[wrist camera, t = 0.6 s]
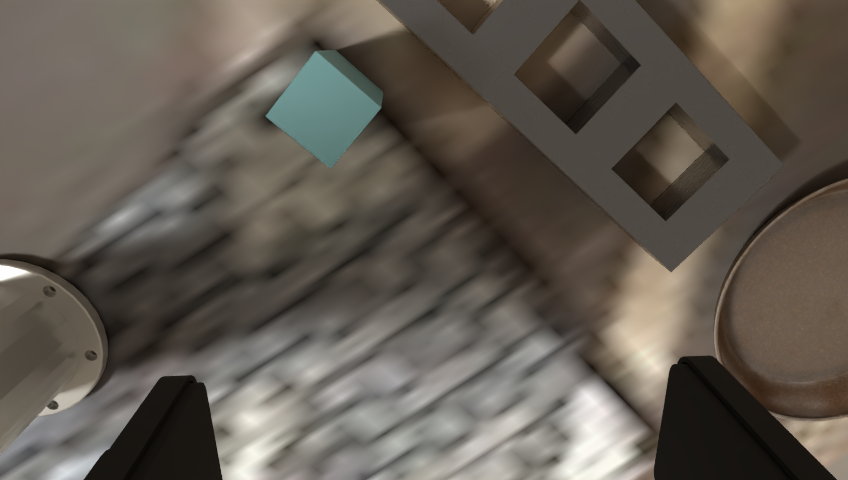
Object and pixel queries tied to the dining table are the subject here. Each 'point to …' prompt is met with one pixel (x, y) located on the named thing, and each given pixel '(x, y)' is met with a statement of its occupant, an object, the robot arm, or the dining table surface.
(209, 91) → the dining table surface
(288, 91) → the square block
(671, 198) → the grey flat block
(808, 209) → the plant saucer
